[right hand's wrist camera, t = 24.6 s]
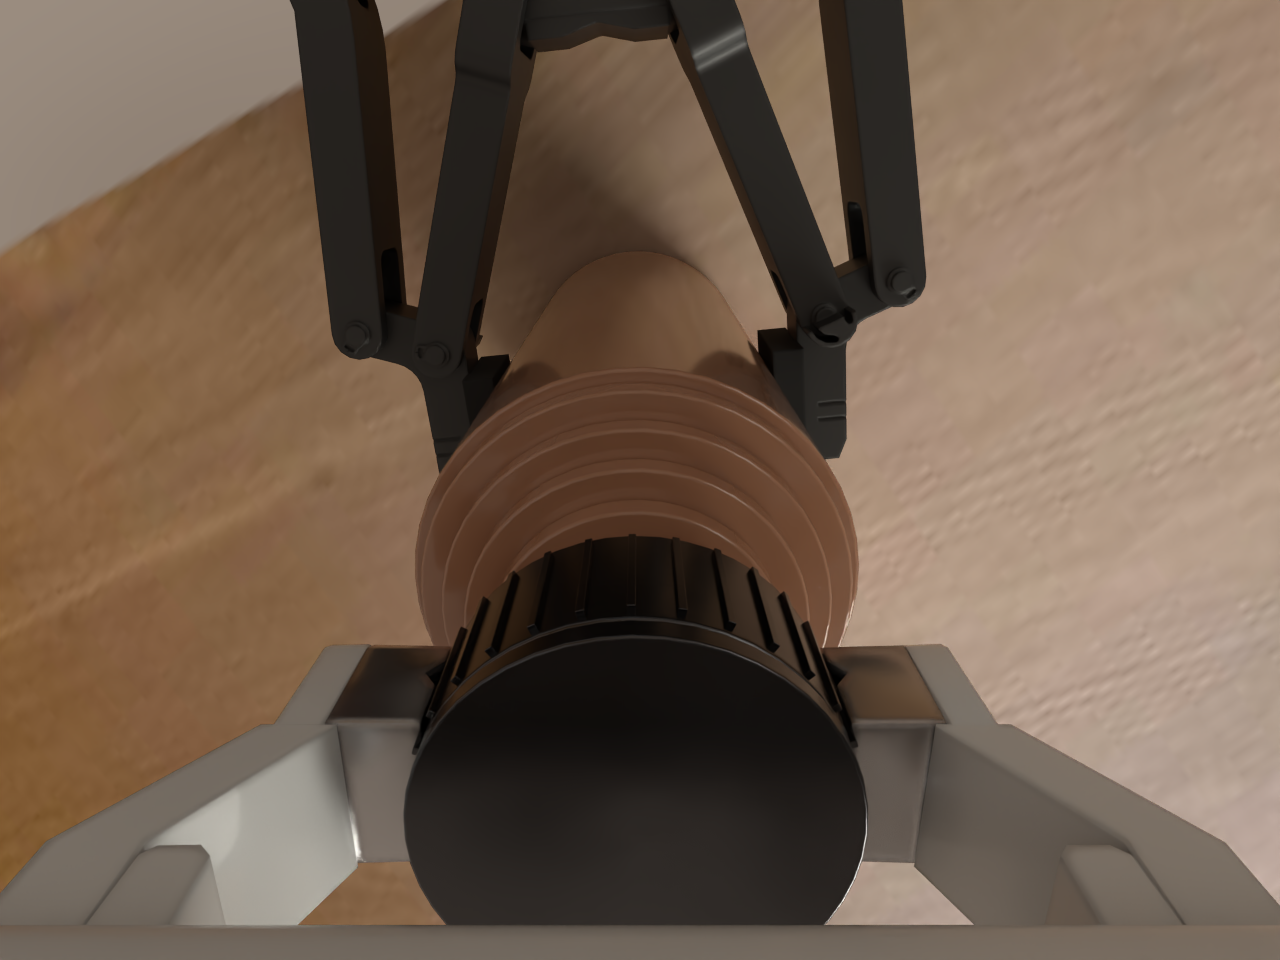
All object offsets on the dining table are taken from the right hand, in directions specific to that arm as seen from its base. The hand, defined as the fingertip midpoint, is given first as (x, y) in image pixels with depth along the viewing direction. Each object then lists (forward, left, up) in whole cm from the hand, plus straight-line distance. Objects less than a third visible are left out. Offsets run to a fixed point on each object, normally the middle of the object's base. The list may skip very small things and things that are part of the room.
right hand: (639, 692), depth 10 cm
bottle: (0, 0, -19) cm, 19 cm away
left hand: (-4, -3, -13) cm, 14 cm away
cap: (0, 0, +2) cm, 2 cm away
